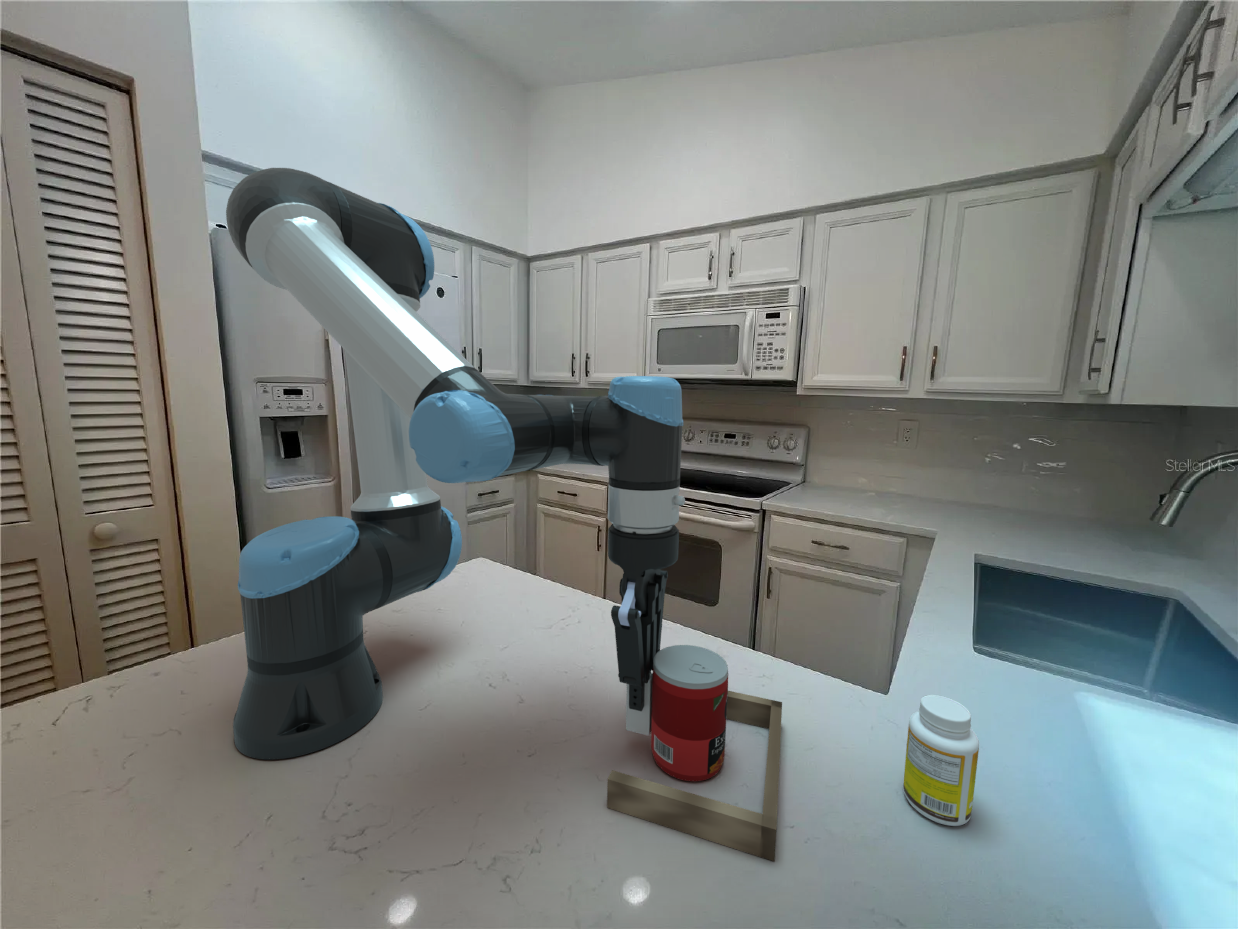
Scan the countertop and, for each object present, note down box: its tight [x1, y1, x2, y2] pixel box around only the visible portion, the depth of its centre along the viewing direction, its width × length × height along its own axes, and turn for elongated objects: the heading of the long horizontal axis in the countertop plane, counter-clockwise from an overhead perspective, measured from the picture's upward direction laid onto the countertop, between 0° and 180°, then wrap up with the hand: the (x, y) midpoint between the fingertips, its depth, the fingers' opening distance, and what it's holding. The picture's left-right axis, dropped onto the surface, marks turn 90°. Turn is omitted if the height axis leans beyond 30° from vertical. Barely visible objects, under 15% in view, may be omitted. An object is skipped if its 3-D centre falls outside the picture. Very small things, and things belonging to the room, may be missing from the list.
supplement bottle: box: [902, 694, 980, 827], centre depth 46 cm, size 6×6×10 cm
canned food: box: [650, 644, 729, 782], centre depth 51 cm, size 8×8×11 cm
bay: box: [606, 690, 783, 863], centre depth 51 cm, size 15×18×3 cm
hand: (639, 728), depth 54 cm, fingers closed
